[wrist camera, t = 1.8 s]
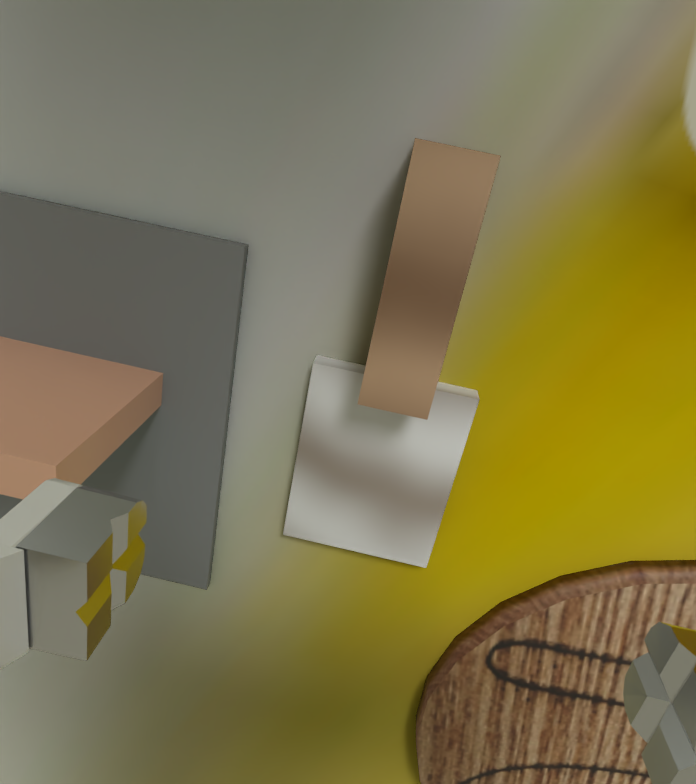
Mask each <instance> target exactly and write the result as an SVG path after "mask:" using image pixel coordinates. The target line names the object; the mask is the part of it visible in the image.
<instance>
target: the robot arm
mask: <svg viewBox="0 0 696 784" xmlns="http://www.w3.org/2000/svg"><path fill="white" fill-rule="evenodd" d="M146 521H147V505H146V504H145V502H144V501H143V500H140V499H136V498H132V497H128V496H124V495H120V494H117V493H113V492H109V491H105V490H101V489H97V488H93V487H89V486H86V485H84V486H82V485H80V484H76V483H72V482H68V481H64V480H60V479H56V478H53V479H49V480H46V481H44V482H43V483H42V484H41V485H39V486H38V487H37V488H36V489H35V490H34V491H32V492H31V493H30V494H29V495H28V496H27V497H25V498H24V499H23V500H22V501H21V502H20V503H18V504H17V505H16V506H15V507H14V508H13V509H11V510H10V511H9V512H8V513H7V514H6V515H4V516H3V517H2V518H1V519H0V670H1V669H2V668H4V667H6V666H7V665H9V664H11V663H12V662H14V661H15V660H17V659H19V658H20V657H22V656H24V655H25V654H27V653H28V652H29V649H33V650H38V651H43V652H48V653H52V654H57V655H62V656H66V657H71V658H76V659H80V660H85V661H87V660H88V658H89V657H90V655H91V654H92V652H93V651H94V649H95V648H96V646H97V645H98V643H99V642H100V640H101V639H102V637H103V636H104V634H105V633H106V631H107V630H108V628H109V627H110V623H111V610H113V609H115V608H117V607H119V606H121V605H123V604H125V603H126V601H127V599H128V598H129V596H130V595H131V593H132V592H133V590H134V588H135V585H136V583H137V581H138V578H139V576H140V573H141V570H142V566H143V561H144V556H145V544H144V542H143V541H142V539H141V537H140V536H139V534H138V533H139V532H140V531H141V529H142V528H143V526H144V525H145V524H146ZM644 641H645V644H646V647H647V650H648V653H646V654H644V655H642V656H640V657H638V658H636V659H634V660H633V661H632V663H631V665H630V667H629V669H628V671H627V673H626V675H625V680H624V689H623V698H624V706H625V711H626V714H627V716H628V719H629V722H630V725H631V726H632V727H633V729H634V730H635V731H636V732H637V733H638V734H639V735H640V736H641V737H642V738H643V739H644V740H645V741H646V744H645V747H644V749H643V751H642V754H641V755H642V758H643V761H644V763H645V766H646V769H647V771H648V774H649V777H650V779H651V782H652V784H696V630H694V629H689V628H685V627H681V626H676V625H672V624H667V623H663V622H658V623H657V624H655V625H654V626H652V627H651V628H650V630H649V632H648V634H647V635H646V637H645V639H644Z"/></svg>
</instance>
